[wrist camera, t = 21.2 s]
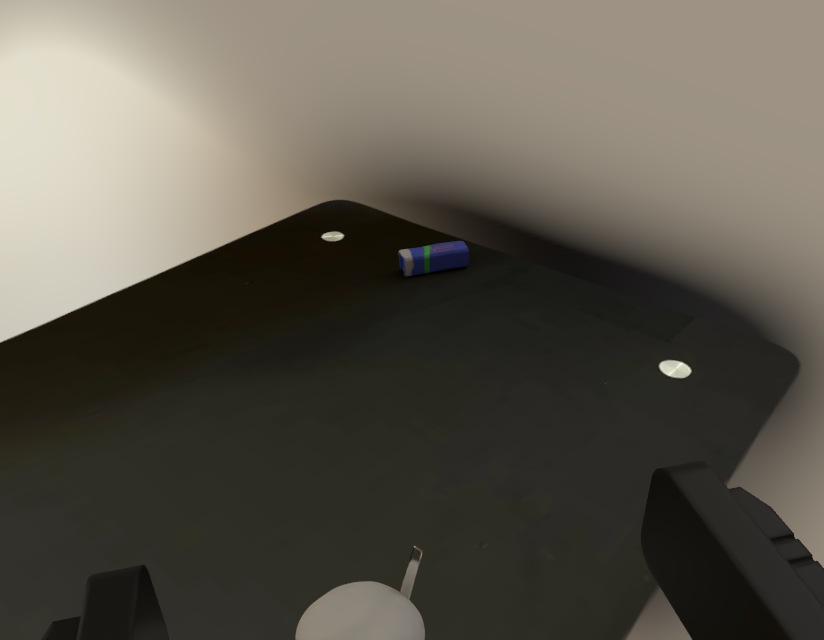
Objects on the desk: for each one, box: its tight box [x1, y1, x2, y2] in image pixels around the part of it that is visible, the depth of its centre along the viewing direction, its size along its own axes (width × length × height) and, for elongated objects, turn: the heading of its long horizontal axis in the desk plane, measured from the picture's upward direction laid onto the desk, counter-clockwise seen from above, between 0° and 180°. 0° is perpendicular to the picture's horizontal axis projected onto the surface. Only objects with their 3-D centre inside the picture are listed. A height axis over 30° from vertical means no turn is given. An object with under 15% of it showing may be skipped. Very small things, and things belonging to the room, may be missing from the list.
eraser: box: [399, 241, 469, 276], centre depth 66 cm, size 2×6×2 cm, turn 105°
